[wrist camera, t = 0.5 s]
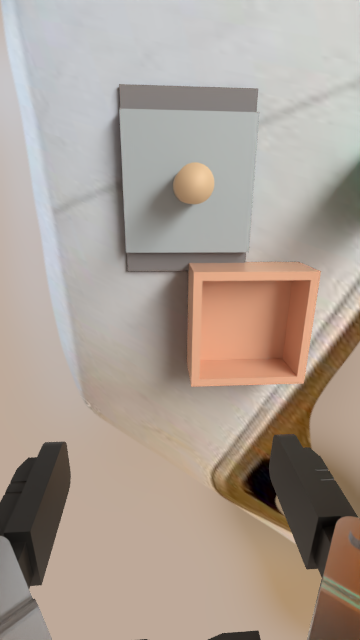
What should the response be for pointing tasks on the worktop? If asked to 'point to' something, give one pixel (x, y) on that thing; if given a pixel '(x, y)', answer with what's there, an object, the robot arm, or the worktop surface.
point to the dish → (249, 322)
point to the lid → (188, 179)
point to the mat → (193, 101)
